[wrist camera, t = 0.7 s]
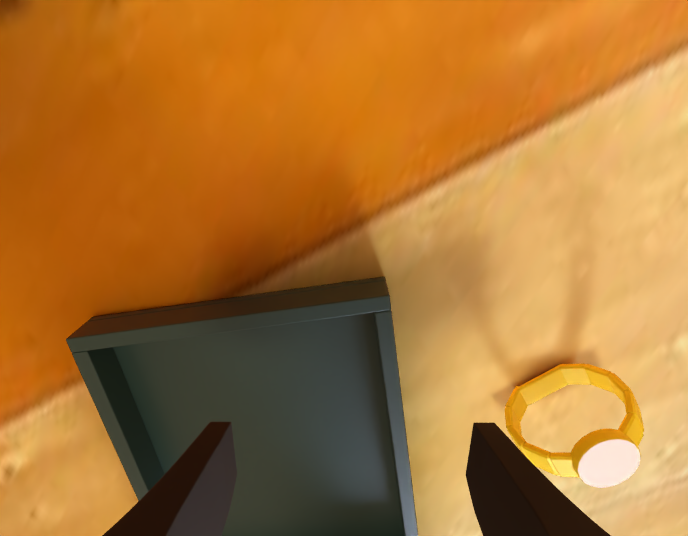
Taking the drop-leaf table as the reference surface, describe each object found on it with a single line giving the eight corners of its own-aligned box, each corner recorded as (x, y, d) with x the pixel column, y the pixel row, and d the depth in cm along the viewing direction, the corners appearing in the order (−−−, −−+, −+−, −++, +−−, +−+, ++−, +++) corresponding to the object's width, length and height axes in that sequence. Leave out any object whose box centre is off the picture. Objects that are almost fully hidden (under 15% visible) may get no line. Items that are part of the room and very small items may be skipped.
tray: (416, 539, 28) (422, 574, 26) (194, 562, 29) (182, 599, 26) (384, 276, 21) (389, 295, 19) (92, 316, 22) (64, 339, 19)
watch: (504, 420, 24) (552, 512, 19) (484, 387, 23) (529, 473, 18) (601, 376, 23) (684, 459, 18) (585, 339, 22) (666, 415, 17)
